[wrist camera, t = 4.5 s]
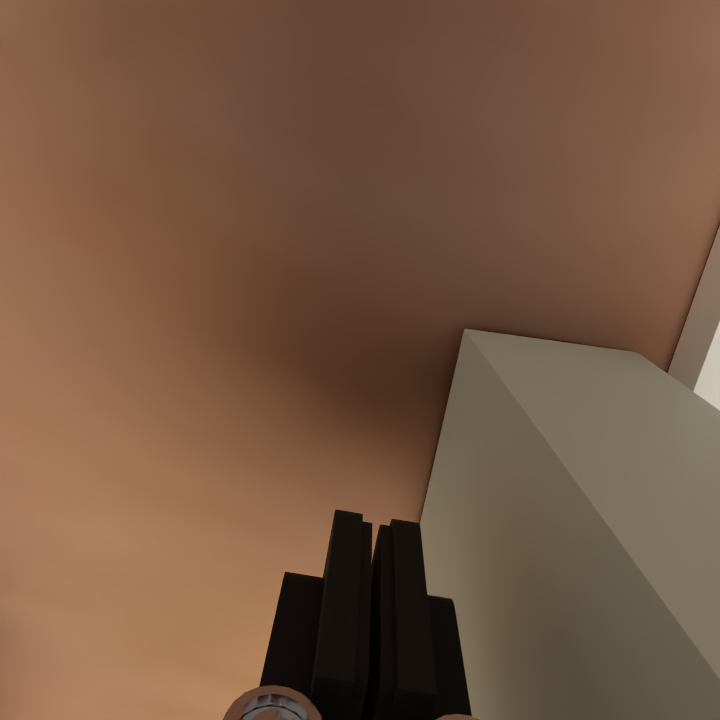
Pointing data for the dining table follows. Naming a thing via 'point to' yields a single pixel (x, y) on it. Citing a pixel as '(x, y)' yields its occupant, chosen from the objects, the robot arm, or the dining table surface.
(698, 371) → the rail
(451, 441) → the sage block
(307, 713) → the robot arm
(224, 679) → the dining table surface
